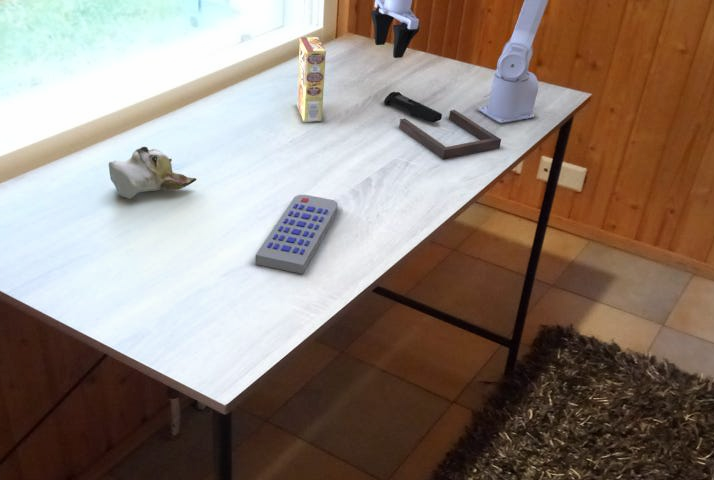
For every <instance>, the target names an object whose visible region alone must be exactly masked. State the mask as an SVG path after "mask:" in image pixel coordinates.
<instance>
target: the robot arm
mask: <svg viewBox="0 0 714 480" xmlns="http://www.w3.org/2000/svg"><path fill="white" fill-rule="evenodd" d="M548 2H549V0H524V1H523V3H522V6H521V9H520V11H519V15H518V18H517V20H516V24H515V26H514V29H513V32H512V35H511V37H510V39H509V40H508V41H506V43H505V44H504V46H503V48H502V52H501V55H500V56H499V57H498V59H497V64H496V69H495V70H494V74H493V78H492V85H491V89H490V93H489V98H488V99H489V100H488V104H487V106H483V107H479V108H478V111H479V112H481V113H482V114H484V115H486V116H487V117H488V118H490V119H492V120H493V121H495V122H497V123H498V124H506V123H511V122H515V121H521V120H528V119H531V118H533V119H534V118H535V116H536V115H535V114H534V108H535V103H536V100H537V95H538V92H539V81H538V77H537V76H536V74H534V73H533V72H531V71H529V67H530V62H531V59H532V58H533V55H534V54H533V53H534V48H533V44H534V43H533V42H534V39H535V37H536V34H537V32H538V30H539V26H540V23H541V21H542V18H543V15H544V13H545V10H546V7H547V5H548ZM412 5H413V0H374V5H373V7H374V8H375V10H370V16H371V19H372V23H373V29H374V44H375V45H376V46H383V45H385V44H386V42H387V38H388V35H389V31H390V28H391V25H392V23H393V21H394V19H396V20H397V21H399V22H400V23H401V24H393V25H392V30H393V40H394V41H393V51H392V57H393V58H394V59H400V58H403V57H404V55H405V53H406V51H407V48H408V47H409V45H410V43H411V41H412V40H413V39H414V37H415V36H416V35H417V34H418V33H419V31H420V26H419V23H420V19H419V18H417V16H416V15H415V14H414V13H413V11H412V9H411V8H412Z"/></svg>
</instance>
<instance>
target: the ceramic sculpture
mask: <svg viewBox="0 0 714 480" xmlns="http://www.w3.org/2000/svg"><path fill="white" fill-rule="evenodd" d="M172 161H173V160H172V158H169V156H168V155H166V154H165V153H164V152H163V151H161V150H158V149H155V148H151V149H149V148H148V147H147V146H142V147H139V148H136V149H135V150H134V152H132V155H131V157H130V158H129V159H127V160H122V161H119V160H113V161H109V162H108V170H109V171H108V172H109V177H110V180H111V182H112V184H113V185H114V187H115V189H116V192H117V193H118V194H119V196H121V197H122V198H124V199H125V198H126V199H128V200H131V199H133V198H134V197H135V196H136V195H137V194H138V193H142V192H154V191H160V190H168V191H178V190H181V189H183V188H186V187H188V186H190V185H191V184H193V183H194V182H196V181H197V178H195V177H188V176H187V175H185V174H181V173H176V172H174V171H173V167H172V166H173V165H172Z"/></svg>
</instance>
